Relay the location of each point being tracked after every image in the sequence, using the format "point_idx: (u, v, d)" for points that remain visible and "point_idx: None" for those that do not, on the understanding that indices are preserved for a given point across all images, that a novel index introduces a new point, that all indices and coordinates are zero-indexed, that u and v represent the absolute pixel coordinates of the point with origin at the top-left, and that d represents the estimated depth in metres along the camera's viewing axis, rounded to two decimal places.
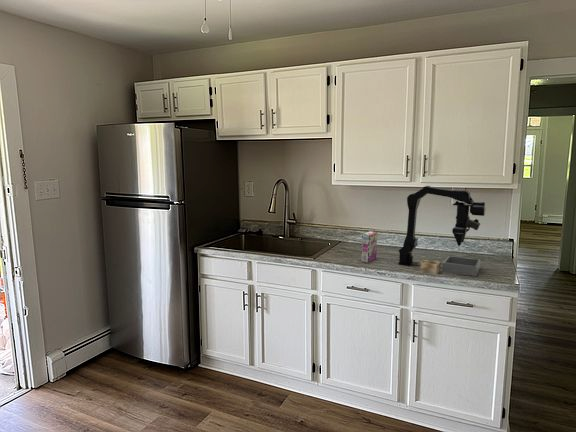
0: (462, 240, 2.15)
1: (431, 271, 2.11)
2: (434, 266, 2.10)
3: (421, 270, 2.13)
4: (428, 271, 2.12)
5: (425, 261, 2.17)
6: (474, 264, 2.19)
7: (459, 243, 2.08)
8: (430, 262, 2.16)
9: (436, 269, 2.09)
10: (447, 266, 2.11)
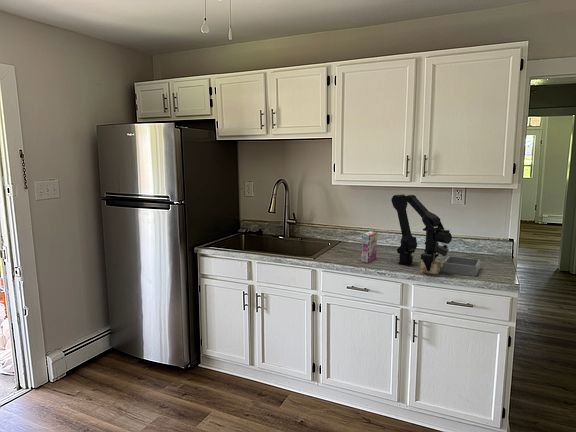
0: None
1: (431, 271, 2.11)
2: (434, 266, 2.10)
3: (421, 270, 2.13)
4: (428, 271, 2.12)
5: None
6: (474, 264, 2.19)
7: (428, 268, 2.11)
8: None
9: (436, 269, 2.09)
10: (447, 266, 2.11)
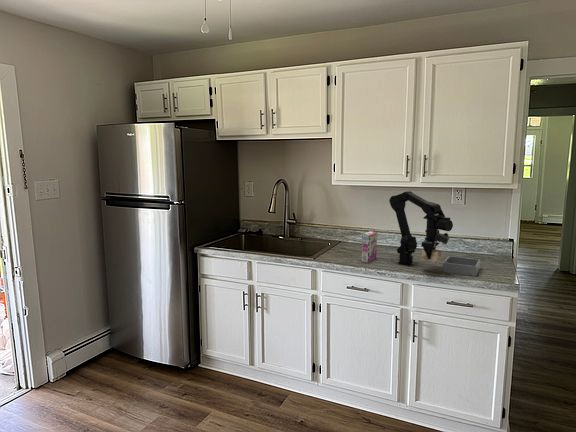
0: None
1: (432, 259, 2.10)
2: (435, 254, 2.08)
3: (422, 258, 2.12)
4: (429, 259, 2.10)
5: None
6: (474, 264, 2.19)
7: (429, 256, 2.10)
8: None
9: (437, 257, 2.08)
10: (447, 266, 2.11)
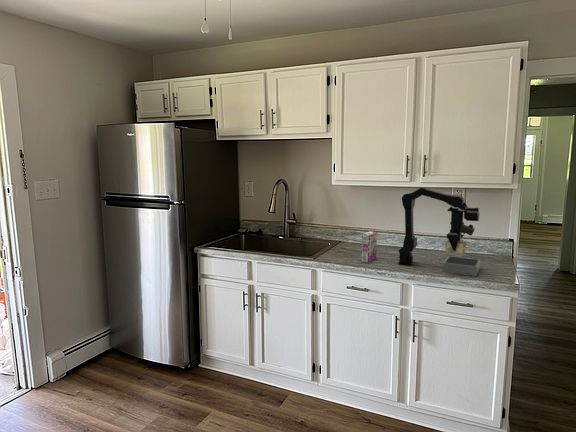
0: None
1: (457, 250, 2.10)
2: (460, 245, 2.09)
3: (447, 250, 2.12)
4: (454, 251, 2.10)
5: None
6: (474, 264, 2.19)
7: (454, 248, 2.10)
8: None
9: (462, 248, 2.08)
10: (447, 266, 2.11)
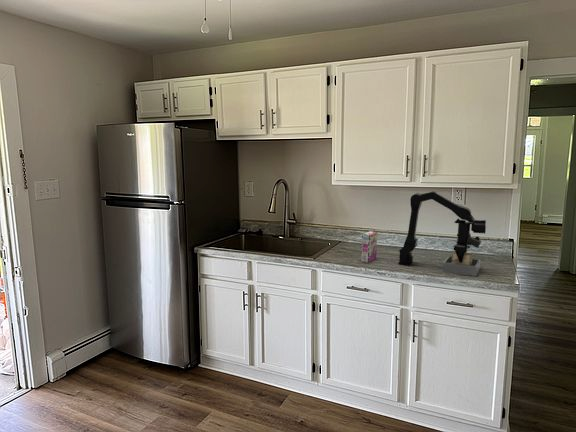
0: None
1: (463, 262, 2.11)
2: (467, 257, 2.10)
3: (453, 261, 2.14)
4: (460, 262, 2.12)
5: None
6: (474, 264, 2.19)
7: (460, 260, 2.12)
8: None
9: (469, 260, 2.10)
10: (447, 266, 2.11)
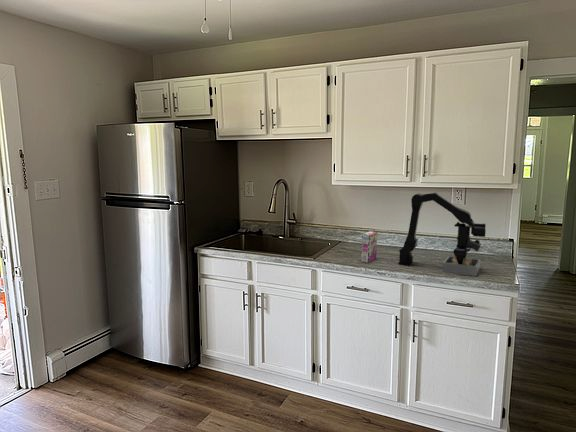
0: None
1: None
2: (466, 263, 2.11)
3: None
4: None
5: None
6: (474, 264, 2.19)
7: None
8: None
9: None
10: (447, 266, 2.11)
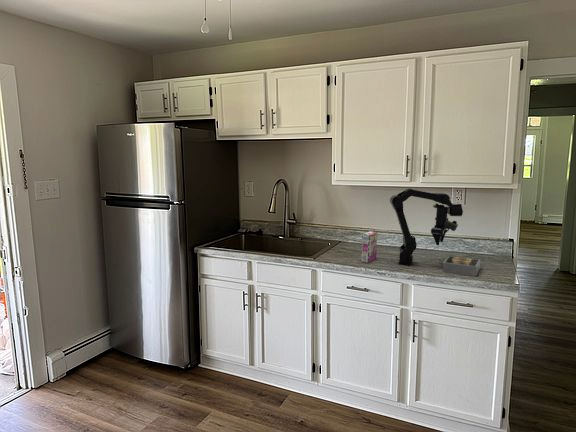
0: (441, 240, 2.29)
1: None
2: (466, 263, 2.11)
3: None
4: None
5: (456, 258, 2.19)
6: (474, 264, 2.19)
7: (437, 243, 2.22)
8: (461, 259, 2.17)
9: None
10: (447, 266, 2.11)
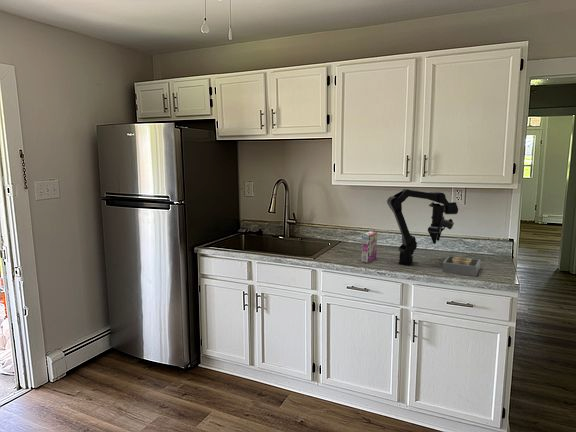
0: (438, 238, 2.32)
1: None
2: (466, 263, 2.11)
3: None
4: None
5: (456, 258, 2.19)
6: (474, 264, 2.19)
7: (434, 241, 2.24)
8: (461, 259, 2.17)
9: None
10: (447, 266, 2.11)
